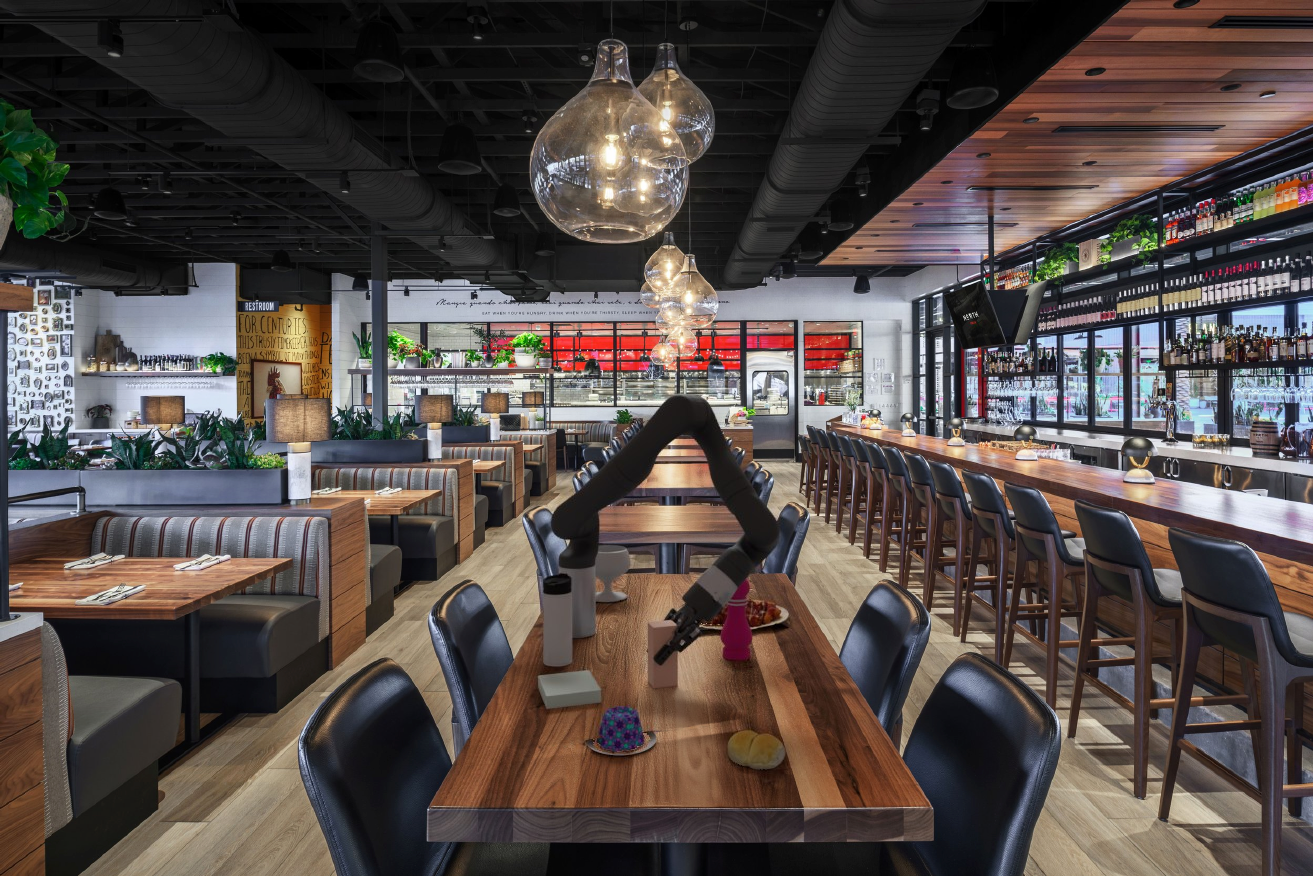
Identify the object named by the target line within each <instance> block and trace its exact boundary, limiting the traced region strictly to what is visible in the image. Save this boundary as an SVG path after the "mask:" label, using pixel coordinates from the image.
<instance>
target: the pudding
mask: <svg viewBox="0 0 1313 876" xmlns="http://www.w3.org/2000/svg"><path fill="white" fill-rule="evenodd" d="M642 727H643V726H642V723H641V720H640V715H639V713H638V711H637V710H636V709H634V708H632V707H629V706H621V705H619V706H615V707H610V708H608V709H606V711H605V712H603V715H602V717H601V722H600V726H599V729H598V735H599V736H601V737H597V741H596V744H597V743H599V744H600V745H599V744H598V745H599V748H600V747H602V748H604V749H611V750H612V751H615V752H614V753H618V752H617V751H622V750H631V749H635V748H637V746H641V745H643V744H644V742H645V743H646V740H645V737H644V735H643V733H647V735H649V737H650V739H651V740H649V743H648V745H647V747H646V748H644V749H643V750H641V751H638V752H634V753H630V754H612V753H607V752H602V751H599V750H597V749H596V748H594V747H595V746H594V745H593V744H594V743H593V742H595V740H593V739H594V738H591V739H588V738H587V739H585V741H584V742H585V744H586V746H587V747H588V748H590V749H591V750H593V751H595V752H597V753H601V754H604V755H611V756H612V755H613V756H628V755H635V754H639V753H642V752H645V751H647V750H649V749H650V748H652V747H653V746H654V745H655V744H656V742H657V735H656V733H655V732H654V731H653V730H648V731H643V728H642ZM644 745H645V744H644ZM644 745H643V746H644ZM641 747H642V746H641ZM604 749H603V750H604ZM637 749H638V748H637ZM611 750H610V751H611ZM612 751H611V752H612Z"/></svg>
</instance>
